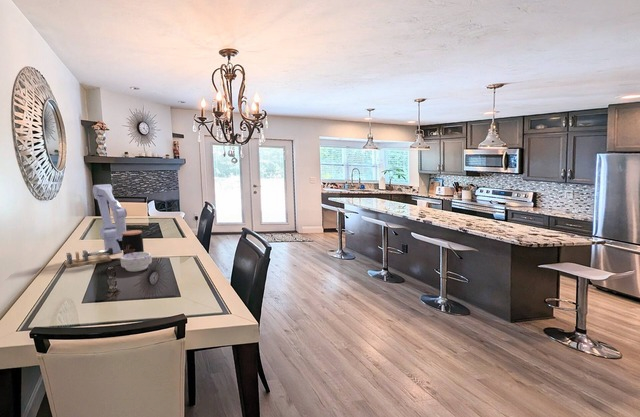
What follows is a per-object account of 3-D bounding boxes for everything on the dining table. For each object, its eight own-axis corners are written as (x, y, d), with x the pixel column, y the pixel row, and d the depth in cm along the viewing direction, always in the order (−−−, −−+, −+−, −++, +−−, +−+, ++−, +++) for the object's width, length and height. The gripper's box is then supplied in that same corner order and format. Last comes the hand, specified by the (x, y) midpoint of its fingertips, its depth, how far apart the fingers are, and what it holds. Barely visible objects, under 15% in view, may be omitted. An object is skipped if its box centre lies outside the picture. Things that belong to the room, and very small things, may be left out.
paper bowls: (140, 274, 205) (139, 259, 204) (115, 272, 208) (113, 258, 207) (158, 266, 220) (157, 252, 219) (133, 265, 223) (132, 251, 222)
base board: (106, 257, 242) (106, 254, 242) (111, 260, 233) (111, 258, 233) (64, 263, 228) (64, 261, 228) (67, 268, 219) (67, 265, 219)
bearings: (86, 258, 232) (85, 250, 232) (88, 260, 228) (87, 252, 227) (67, 261, 226) (66, 253, 226) (69, 263, 222) (68, 254, 221)
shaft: (111, 253, 240) (111, 247, 239) (113, 254, 237) (112, 248, 236) (82, 258, 230) (81, 251, 229) (83, 259, 227) (82, 252, 226)
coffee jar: (120, 263, 226) (117, 232, 224) (136, 259, 235) (133, 229, 233) (132, 265, 221) (129, 234, 219) (148, 261, 230) (146, 231, 228)
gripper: (115, 226, 246) (116, 248, 247) (111, 230, 232) (113, 253, 234) (127, 226, 248) (129, 247, 250) (125, 229, 235) (127, 252, 236)
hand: (122, 250), depth 242 cm, fingers closed
